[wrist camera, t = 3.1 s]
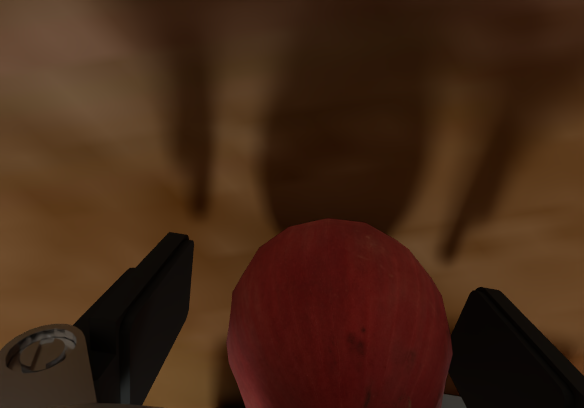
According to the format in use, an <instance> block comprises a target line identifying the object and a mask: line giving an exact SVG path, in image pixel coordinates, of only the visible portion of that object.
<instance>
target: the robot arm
mask: <svg viewBox="0 0 584 408" xmlns="http://www.w3.org/2000/svg"><path fill="white" fill-rule="evenodd" d="M193 250H194V242H193V241H192V240H189V237H188V235H184V234H178V233H172V232H169V233H168V234H167V235H166V236H165V237H164V238H163V239H162V240H161V241H160V242H159V244H158V245H157V246H156V247H155V248H154V249H153V250H152V251H151V252H150V253H149V254H148V255H147V256H146V257H145V258H144V259H143V260H142V261H141V263H140V264H139V265H138V266H137V267H136V268H129V269H128V270H127V271H126V272H125V273H124V274H123V275H122V276H121V277H120V278H119V279H118V280H117V281H116V282H115V283H114V284H113V285H112V286H111V287H110V288H109V289H108V290H107V291H106V292H105V293H104V294H103V295H102V296H101V297H100V298H99V299H98V300H97V301H96V302H95V303H94V304H93V305H92V306H91V307H90V308H89V309H88V310H87V311H86V312H85V313H84V314H83V315H82V316H81V317H80V318H79V320H78V321H77V322H76V323H75V324H74V325H73V326H72V325H68V324H51V325H45V326H40V327H37V328H34V329H31V330H28V331H26V332H24V333H23V334H21V335H19V336H17V337H15V338H14V339H12V340H11V341H10V342H8V343H7V344H6V345H5V346H4V347H3V348H2V349H1V350H0V408H162V407H153V406H142V404H143V402H144V400H145V398H146V396H147V394H148V393H149V391H150V389H151V387H152V385H153V383H154V381H155V379H156V377H157V375H158V373H159V371H160V369H161V367H162V365H163V363H164V361H165V359H166V357H167V355H168V354H169V352H170V350H171V348H172V346H173V344H174V342H175V340H176V338H177V336H178V334H179V332H180V330H181V328H182V326H183V324H184V322H185V320H186V318H187V315H188V311H189V300H190V288H191V275H192V262H193ZM451 344H452V353H453V355H452V359H451V362H450V366H449V370H448V372H449V374H450V376H451V378H452V380H453V382H454V384H455V386H456V388H457V390H458V392H459V394H460V396H461V398H462V400H463V402H464V404H465V405H466V407H467V408H584V376H583V375H582V374H581V373H580V372H579V371H578V370H577V369H576V368H575V367H574V365H573V364H572V363H571V362H570V361H569V360H568V359H567V358H566V357H565V356H564V355H563V354H562V353H561V352H560V351H559V350H558V349H557V348H556V347H555V346H554V345H553V344H552V343H551V342H550V341H549V340H548V339H547V338H546V337H545V336H544V335H543V334H542V333H541V332H540V331H539V330H538V329H537V328H536V327H535V326H534V325H533V324H532V323H531V322H530V321H529V320H528V319H527V318H526V317H525V316H524V315H523V314H522V313H521V312H520V310H519V309H518V308H517V307H516V306H515V305H514V304H513V303H512V302H511V301H510V300H509V299H508V298H507V297H506V296H505V295H504V294H503V293H502V292H501V291H499V290H495V289H489V288H483V287H479V288H477V289H476V290H474V291H472V292H471V293H470V295H469V297H468V299H467V301H466V303H465V306H464V308H463V310H462V312H461V314H460V317H459V319H458V321H457V323H456V325H455V328H454V330H453V332H452V334H451Z"/></svg>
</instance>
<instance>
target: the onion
mask: <svg viewBox="0 0 584 408" xmlns="http://www.w3.org/2000/svg"><path fill="white" fill-rule="evenodd" d="M226 344H227V352H228V360H229V365H230V367H231V370H232V372H233V374H234V377H235V379H236V382H237V384H238V387H239V390H240V393H241V395H242V398H243V401H244V404H245V406H246V408H441V406H442V400H443V394H444V388H445V383H446V378H447V374H448V370H449V366H450V362H451V359H452V355H453V353H452V344H451V335H450V330H449V326H448V321H447V317H446V312H445V308H444V303H443V299H442V295H441V294H440V292H439V290H438V288H437V287H436V285H435V283H434V282H433V280H432V278H431V277H430V276H429V274H428V273H427V272H426V271H425V269H424V268H423V267H422V266H421V264H420V263H419V262H418V260H417V259H416V258H415V257H414V255H413V254H412V253H411V252H410V250H409V249H408V248H406V247H405V246H403V245H402V244H401V243H399V242H398V241H397V240H395V239H394V238H392V237H390V236H388V235H387V234H385V233H383V232H381V231H379V230H378V229H376V228H374V227H372V226H370V225H369V224H367V223H365V222H356V221H348V220H339V219H331V218H326V219H321V220H317V221H312V222H308V223H303V224H299V225H294V226H289V227H288V228H287V229H285V230H284V231H282V232H281V233H279V234H278V235H277V236H275V237H274V238H272V239H271V240H269V241H268V242H267V243H265V244H264V245H262V246H261V247H259V249H258V251H257V252H256V254H255V255H254V257H253V259H252V260H251V262H250V263H249V265H248V267H247V268H246V270H245V272H244V273H243V275H242V277H241V278H240V280H239V282H238V284H237V285H236V287H235V289H234V291H233V293H232V303H231V314H230V321H229V328H228V336H227V343H226Z"/></svg>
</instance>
